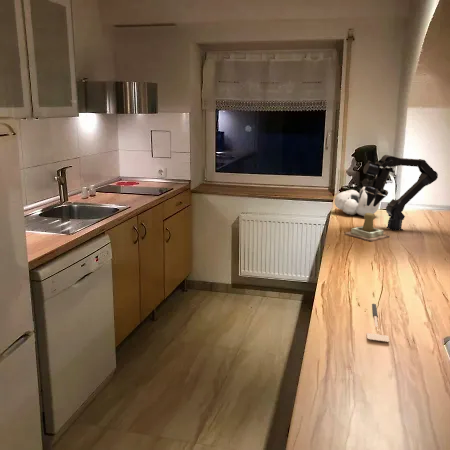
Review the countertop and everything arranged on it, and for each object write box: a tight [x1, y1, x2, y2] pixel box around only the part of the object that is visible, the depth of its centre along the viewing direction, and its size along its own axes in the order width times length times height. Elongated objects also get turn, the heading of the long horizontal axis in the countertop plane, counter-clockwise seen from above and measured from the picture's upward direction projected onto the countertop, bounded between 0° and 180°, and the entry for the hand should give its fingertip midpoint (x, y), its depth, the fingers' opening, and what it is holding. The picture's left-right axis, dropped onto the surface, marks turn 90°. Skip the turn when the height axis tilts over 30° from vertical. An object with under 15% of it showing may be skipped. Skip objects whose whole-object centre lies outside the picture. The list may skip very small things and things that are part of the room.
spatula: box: [366, 303, 390, 343], centre depth 157 cm, size 6×29×2 cm, turn 166°
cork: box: [362, 213, 375, 232], centre depth 257 cm, size 6×6×11 cm
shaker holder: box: [344, 225, 390, 242], centre depth 258 cm, size 16×16×3 cm
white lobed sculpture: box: [334, 186, 381, 217], centre depth 303 cm, size 20×25×22 cm
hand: (370, 206), depth 269 cm, fingers open, 9 cm apart
